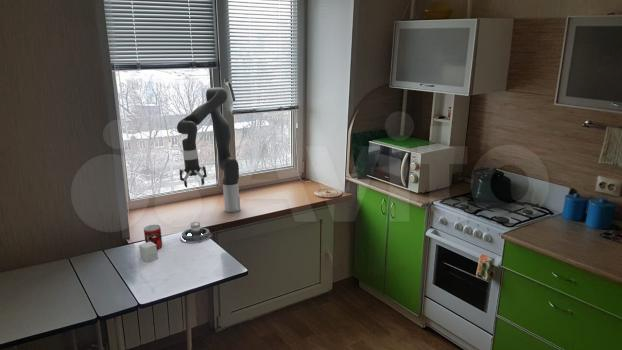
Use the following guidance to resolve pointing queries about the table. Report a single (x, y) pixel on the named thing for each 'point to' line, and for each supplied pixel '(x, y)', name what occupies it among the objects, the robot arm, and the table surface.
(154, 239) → the canned food
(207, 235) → the ring
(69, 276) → the table surface
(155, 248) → the product box
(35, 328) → the table surface
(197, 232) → the piston
